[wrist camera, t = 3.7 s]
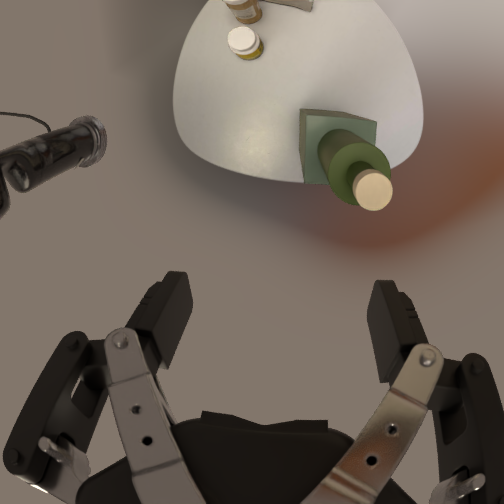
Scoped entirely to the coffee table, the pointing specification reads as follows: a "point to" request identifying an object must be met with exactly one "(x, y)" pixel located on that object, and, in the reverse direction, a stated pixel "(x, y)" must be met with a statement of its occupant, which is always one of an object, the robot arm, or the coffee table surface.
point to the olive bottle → (355, 169)
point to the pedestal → (317, 126)
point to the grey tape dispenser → (295, 3)
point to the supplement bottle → (245, 43)
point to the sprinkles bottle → (245, 10)
